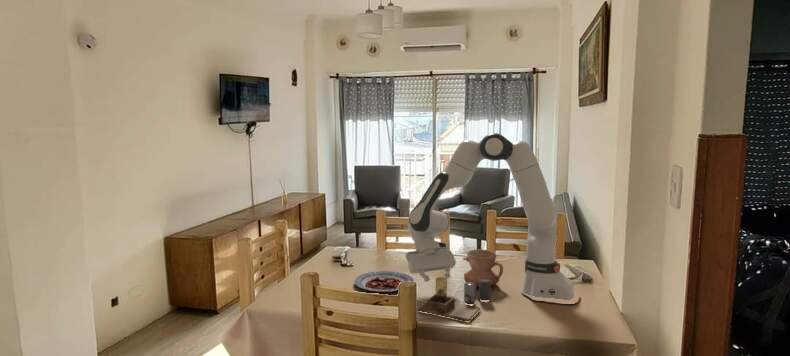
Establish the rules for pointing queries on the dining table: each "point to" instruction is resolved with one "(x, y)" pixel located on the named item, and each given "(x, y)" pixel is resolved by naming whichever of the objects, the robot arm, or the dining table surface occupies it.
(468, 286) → the dark steel roller
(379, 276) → the ceramic plate
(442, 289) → the translucent yellow cylinder
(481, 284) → the grey rounded cylinder
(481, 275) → the ceramic jug
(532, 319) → the dining table surface
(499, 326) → the dining table surface
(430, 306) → the socket board
